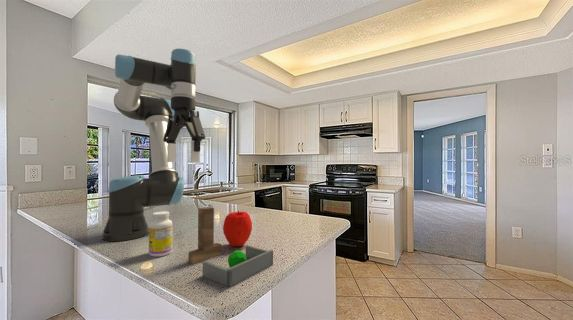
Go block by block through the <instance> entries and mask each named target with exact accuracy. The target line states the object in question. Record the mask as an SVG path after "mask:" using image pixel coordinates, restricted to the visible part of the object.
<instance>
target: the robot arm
mask: <svg viewBox="0 0 573 320" xmlns="http://www.w3.org/2000/svg"><path fill="white" fill-rule="evenodd" d="M170 54H171V55H170V64H167V63H163V62H158V61H153V60H149V59H144V58H139V57H135V56H132V55H125V54H117V55H116V56H115V59H114V60H115V61H114V74H115V75H114V76H115V77H116V78H118V79H119V84H118V89H117V92H115V94H114V97H113V104H114V106H115V108H116V110H117V111H118V112H119V113H120V114H122V115H123V116H124V117H126V118H129V119H131V120H134V121H142V122H143V121H144V125H145V126H146V127H147V128H148V131H149V133H148V134H149V144H150V159H151V172H150V173H149V174H148V177H145V176H144V175H143V174H136V175H129V176H122V177H116V178H112V179H111V180H110V181H109V185H108V191H107V193H108V218H107V221H106V223H105V226H104V229H103V231H102V240H104V241H106V242H121V241H123V242H124V241H130V240H134V239H138V238H142V237H145V236H146V235H149V224H148V222H147V220H146V217H145V208H149V207H151V208H152V207H159V206H160V207H162V206H170V205H176V204H180V202H181V201H182V198H183V194H184V189H185V188H184V187H185V180H184V178H183V177H182V176H179V172H178V171H177V170H175V168H174V163H176V162H177V142H176V141H177V139H178V137H179V135H180V131H181V130H182V129H183V128H186V130H187V131H188V134H189V136H190V138H191V140H190V163H200V162H201V160H200V159H201V157H200V155H201V142H202V141H203V140H205V139H206V135H205V130H204V129H203V125H202V121H201V119H200V111H199V110H196V100H195V99H196V97H197V96H196V95H197V94H196V92H197V91H196V90H197V89H196V79H197V78H196V77H197V76H196V74H197V73H196V66H197V62H196V61H197V60H196V55H195V53H194V52H192V51H191V50H189V49H185V48H174V49H173V50H172V51H171V53H170ZM145 84H150V85H156V86H162V87H165V88H166V89H168V90H170V95H171V98H170V99H167V98H163V97H154V96H149V95H148V96H147V95H142V91H143V89H144V86H145Z"/></svg>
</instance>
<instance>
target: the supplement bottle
mask: <svg viewBox="0 0 573 320" xmlns="http://www.w3.org/2000/svg"><path fill="white" fill-rule="evenodd" d="M169 217H170V212H169V211H164V210H163V211H157V212H153V213H152V219H153V220H152V221H150V223H149V224H148V228H149V229H148V255H149V256H150V257H153V258H157V257H158V258H159V257H165V256H167V255H170V254H171V253H172V252H173V221H172V220H171V219H169Z"/></svg>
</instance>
